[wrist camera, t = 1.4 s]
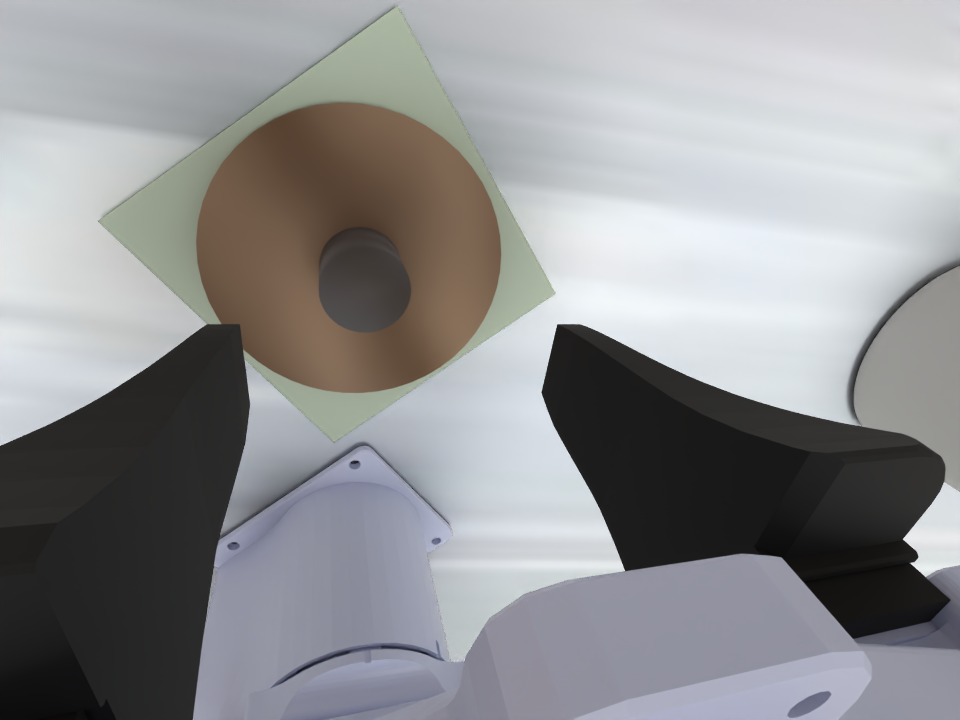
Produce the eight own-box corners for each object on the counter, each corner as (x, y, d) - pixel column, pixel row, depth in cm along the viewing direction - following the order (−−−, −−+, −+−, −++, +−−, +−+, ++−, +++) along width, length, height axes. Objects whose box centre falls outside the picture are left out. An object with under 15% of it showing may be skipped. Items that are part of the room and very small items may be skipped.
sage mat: (333, 437, 23) (334, 443, 23) (102, 218, 17) (97, 221, 17) (552, 290, 23) (555, 293, 22) (396, 7, 16) (397, 5, 16)
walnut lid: (336, 429, 23) (338, 476, 20) (122, 225, 17) (84, 253, 14) (541, 290, 22) (571, 319, 19) (393, 30, 16) (407, 20, 14)
